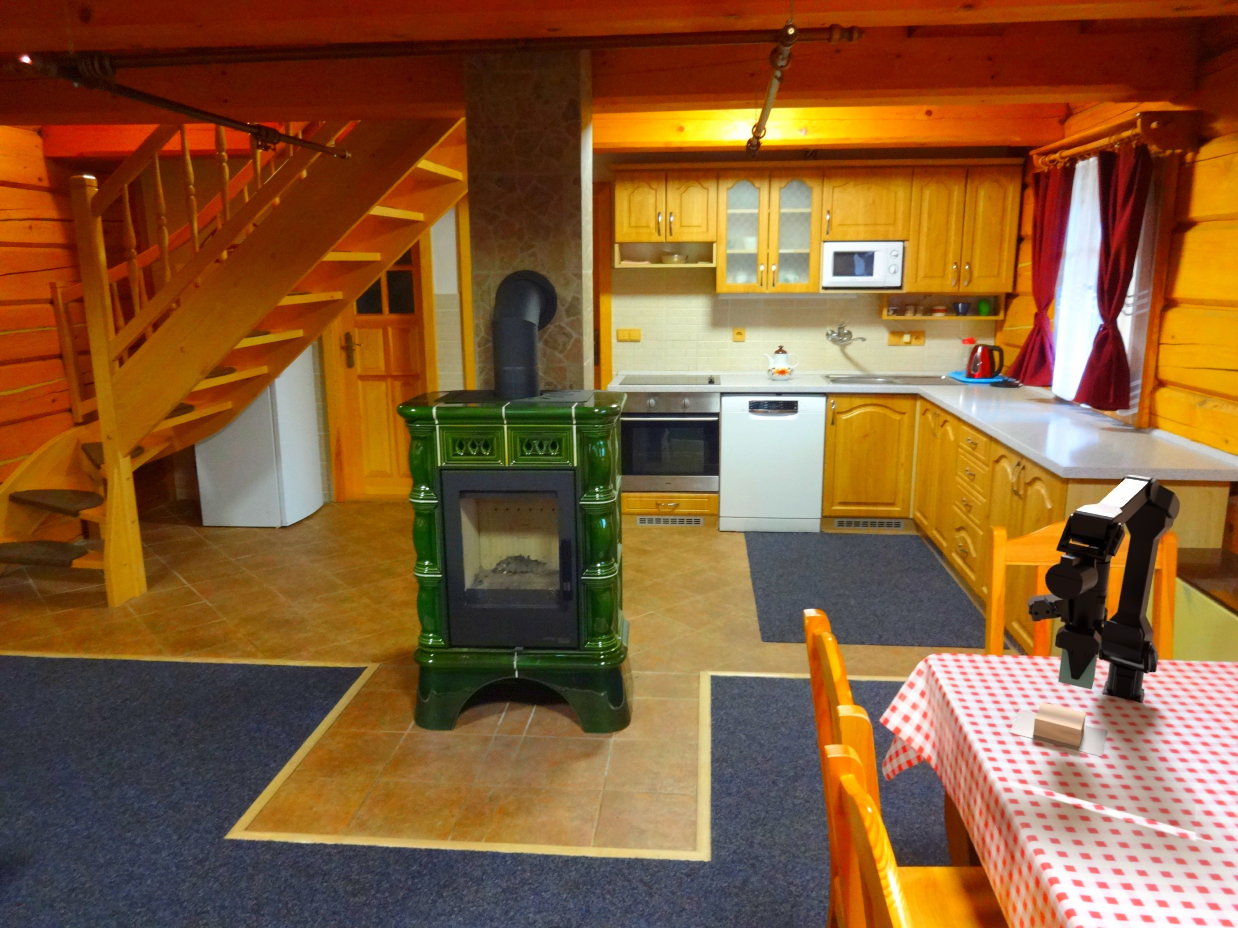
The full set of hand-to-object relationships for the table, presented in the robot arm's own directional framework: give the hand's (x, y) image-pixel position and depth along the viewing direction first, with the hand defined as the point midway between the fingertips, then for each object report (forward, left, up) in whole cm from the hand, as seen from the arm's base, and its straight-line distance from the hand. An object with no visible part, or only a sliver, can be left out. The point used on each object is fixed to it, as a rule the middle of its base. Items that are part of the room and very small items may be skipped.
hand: (1076, 673), depth 147 cm
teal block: (0, 0, -1) cm, 1 cm away
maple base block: (+1, -2, -11) cm, 11 cm away
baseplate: (+1, -2, -12) cm, 12 cm away
